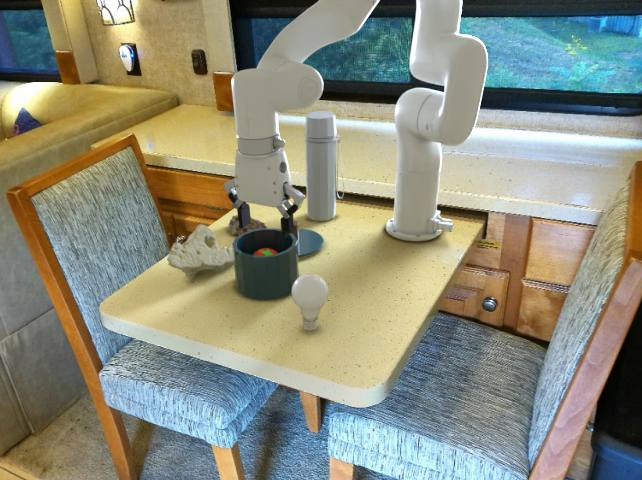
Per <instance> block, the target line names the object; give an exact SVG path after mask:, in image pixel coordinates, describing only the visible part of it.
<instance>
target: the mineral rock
mask: <svg viewBox="0 0 642 480" xmlns="http://www.w3.org/2000/svg"><path fill="white" fill-rule="evenodd" d="M262 228H268V226H267V225H266V223H265V222H263V221H261V220H259V219H256V218H252V217H251V223H249V224H248V225H247V226H245V227H244V228H240V227H239V221H238V214H237V215H232V217H231V219H229V223H228V230H229V232H230V233H231V235H236V236H239V235H240V234H242V233H245V232H248V231H250V230H255V229H262Z"/></svg>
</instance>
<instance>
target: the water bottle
mask: <svg viewBox="0 0 642 480" xmlns="http://www.w3.org/2000/svg"><path fill="white" fill-rule="evenodd" d="M336 118H337V117H336V113H335V112H333V111H330V110H317V111H314V110H313V111H311V112H308V113H307V114H306V116H305V128H304V137H305V138H304V145H305V151H304V152H305V186H306V189H305V191H306V192H305V193H306V215H307V217H308V218H309V219H311V220H312V221H315V222H327V221H330V220H332V219H334V218H335V216H336V214H337V198H338V199H343V198H344V195H345V181H344V180H345V179H344V172H343V170H341V177H342V186H343V187H342V188H343V190H342V194H341V195H342V196H339V193H338V189H339V186H338V185H339V165H337V158H339V157H340V158H339V159H340V160H342V154H341V152H340V150H341V145H340V143H341V138H342V137H341V135H340V134H338V131H337V130H338V129H337V119H336ZM336 137H337V138H336ZM337 144H338V147H337ZM340 166H341V169H343V163H342V161H340Z"/></svg>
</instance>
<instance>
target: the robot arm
mask: <svg viewBox="0 0 642 480" xmlns="http://www.w3.org/2000/svg"><path fill="white" fill-rule="evenodd" d="M380 1H381V0H318V1H316V2H315V3H314V4H313V5H311V6H310V7H308V8H307V9H305V11H302V13H301V14H299V15H298V16H297V17H296V18H294V19H293V20H292V21H291V22H290V23H289V24H287V25H286V26H285V27H284V28H283V29H282V30H280V32H279V33H278V34H277V35H276V36H275V38H274V39H273V41H272V42H271V44H270V45H269V46H268V48H267V49H266V51H265V52H264V54H263V55H262V57H261V59H260V60H259V62H258V64H257V66H256V68H255V67H254V68H247V69H242V70H238V71H237V72H235V73H234V74H233V76H232V77H231V82H230V83H231V95H232V103H233V113H234V123H235V132H236V141H237V149H236V151H235V156H234V157H235V158H234V178H232V179H230V180H228V181H226V182H225V183H223V184H222V185H223V188H224V190H225V193H226V194H227V198H228V199H229V200H230V201H231V203H232V204H233V207H234V208H235V209H236V212H237V216H238V221H239V227H240V228H244V227H245V226H247V225H248V224H249V223H251V218H252V217H251V207H250V204H253V205H258V206H263V207H264V206H265V207H269V208H275V209H277V210H278V212H279V213H280V214H281V218H280V229H281V233H282V237H285V238H286V237H287V236H288V235H289V234H290V233H292V232H293V229H294V221H295V220H294V214H296V212H297V211H298V210H299V209H300V208H301V207H302V204H304V203H303V202H304V201H305V198H306V196H305V194H303V193H302V192H301V191H299V190H298V189H296V188H295V187H293V186H292V178H291V172H290V171H291V170H290V166H289V161H288V157H287V154H286V151H285V149H283V148H285V147H286V140H285V139H281V135H280V129H279V128H280V127H279V126H280V125H279V112H284V111H301V110H306V109H309V108H311V107H313V106H314V105H315V104H316V103H317V102H318V101H319V100H320V98H321V96H322V95H323V91H324V80H323V77H322V75H321V74H320V72H319V71H318V70H317V69H315V68H314V67H313V66H311V65H309V64H306V63H304V62H305V61H306V60H307V59H308V58H309V57H310V56H312V55H313V54H314V53H315V52H317V51H318V50H320V49H321V48H324V47H326V46H328V45H331V44H334V43H337V42H340V41H343V40H345V39H348V38H350V37H351V36H353V35H355V34H357V33H358V32H359V31H360V30H361V28H362V27H363V25H364V24H365V22H366V21H367V19H368V18H369V16H371V14H372V12H373V11H374V9H375V8H376V7H377V5H378V4H379V3H380ZM415 5H416V10H415V17H414V18H415V19H414V24H413V25H414V26H413V33H412V39H411V40H412V41H411V44H410V45H411V46H410V51H409V62H408V63H409V71H410V74H411V75H412V76H413V77H414V78H415V79H417V80H419V81H421V82H425V83H428V84H432V85H433V84H434V85H437V86H442V87H444V89H443V91H440V90H435V89H431V88H426V87H414V88H411V89H408V90H406V91H405V92H403V93H402V94H401V95H400V96H399V98H398V100H397V101H396V103H395V107H394V127H395V133H396V166H395V167H396V168H395V182H394V183H395V185H394V186H395V187H394V199H393V200H394V202H393V203H394V204H393V217H391V218H390V219H388V221H387V222H386V223H385V230H386V233H388V234H389V235H390V236H391V237H393V238H395V239H397V240H402V241H406V242H425V241H430V240H433V239H435V238H438V237H439V236H440V235H441V234H442V231H443V232H448V233H453V232H454V228H455V224H454V223H452V222H453V220H452V219H450V218H443V216H441V210H438V202H439V201H438V200H439V192H440V191H439V190H440V181H441V170H442V161H443V153H442V152H443V151H442V146H441V145H443V146H447V147H458V146H461V145H463V144H464V143H465V142H466V141H468V139H470V137H471V136H472V134H473V132H474V130H475V127H476V124H477V121H478V116H479V111H480V107H481V102H482V98H483V93H484V87H485V83H486V79H487V72H488V66H489V58H488V57H489V56H488V52H487V48H486V45H485V44H484V43H483V41H482V40H480V39H479V38H478V37H475V36H472V35H469V34H461V33H460V23H461V18H462V17H461V15H462V10H463V9H462V7H463V0H415ZM291 199H292V200H293V203H292V202H291Z"/></svg>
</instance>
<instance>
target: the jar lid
mask: <svg viewBox="0 0 642 480" xmlns="http://www.w3.org/2000/svg"><path fill="white" fill-rule="evenodd" d="M293 221H294V229H293V232H292V234H294V235H295V237H296V239H297V242H298V259H299V258H304V257H308V256H312V255H315V254H316V253H318V252H319V251H320V250H322V248H323V247H324V243H325V241H324V237H323V236H322V234H320V233H318V232H317V231H314V230H311V229H309V228H300V227H299V226H300V225H299V221H297V220H293Z"/></svg>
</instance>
